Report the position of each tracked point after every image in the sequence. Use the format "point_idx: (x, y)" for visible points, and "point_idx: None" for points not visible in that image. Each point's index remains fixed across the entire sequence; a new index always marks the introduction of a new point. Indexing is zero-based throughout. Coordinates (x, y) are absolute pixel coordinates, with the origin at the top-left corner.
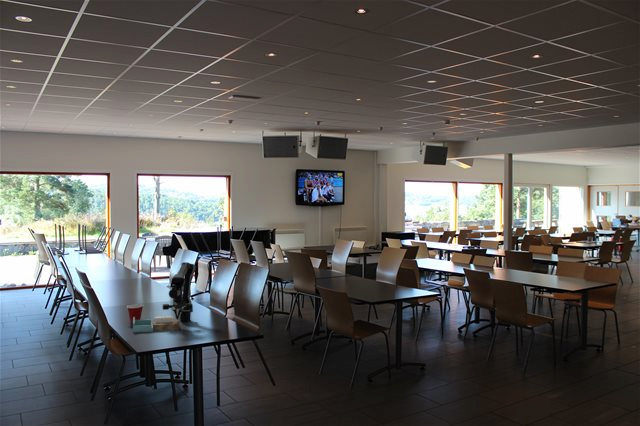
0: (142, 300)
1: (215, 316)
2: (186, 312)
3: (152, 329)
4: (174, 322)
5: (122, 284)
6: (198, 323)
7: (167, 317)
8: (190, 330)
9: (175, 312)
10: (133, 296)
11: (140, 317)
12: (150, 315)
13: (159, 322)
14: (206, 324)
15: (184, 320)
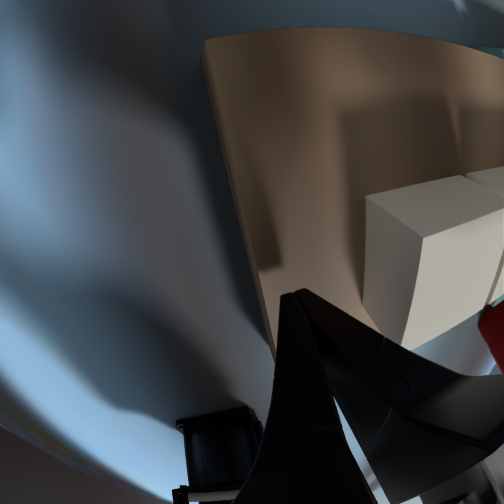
0: (368, 479)
1: (92, 467)
2: (219, 483)
3: (491, 48)
4: (329, 167)
5: (372, 491)
6: (84, 383)
7: (484, 235)
8: (35, 64)
9: (427, 383)
10: (376, 480)
11: (500, 335)
12: None
13: (497, 168)
14: (9, 354)
15: (223, 421)
